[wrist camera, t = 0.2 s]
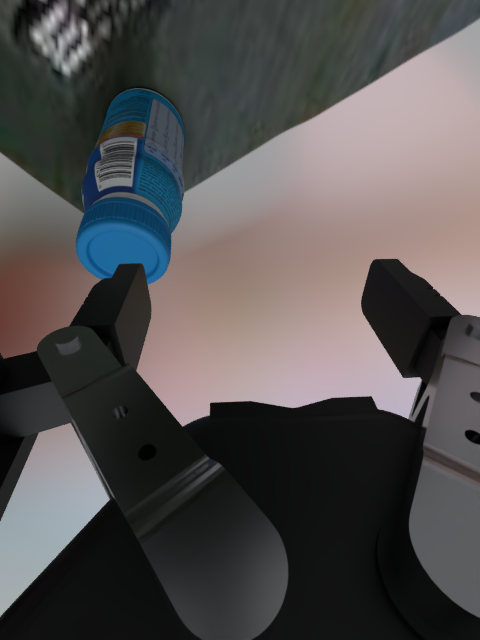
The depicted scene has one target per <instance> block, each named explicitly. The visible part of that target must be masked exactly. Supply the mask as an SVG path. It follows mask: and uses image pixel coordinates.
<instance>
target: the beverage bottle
mask: <svg viewBox="0 0 480 640" xmlns="http://www.w3.org/2000/svg"><path fill="white" fill-rule="evenodd" d="M184 143H185V130H184V125H183V122H182V119H181V117H180V115H179V113H178V111H177V110H176V108H175V107H174V106H173V105H172V104H171V103H170V102H169V101H168V100H167V99H166V98H165V97H163V96H162V95H160V94H159V93H157V92H154V91H152V90H148V89H143V88H134V89H129V90H126V91H124V92H122V93H120V94H119V95H118V96H116V97H115V98H114V100H113V101H112V102H111V104H110V106H109V108H108V111H107V115H106V119H105V122H104V124H103V127H102V130H101V133H100V135H99V138H98V141H97V144H96V146H95V148H94V150H93V151H92V153H91V155H90V157H89V160H88V164H87V169H86V175H85V177H84V180H83V184H82V200H83V205H84V208H85V211H86V212H85V214H84V216H83V219H82V221H81V224H80V227H79V230H78V234H77V238H76V252H77V256H78V258H79V260H80V262H81V263H82V265H83V266H84V267H85V268H86V269H87V270H88V271H89V272H90V273H91V274H93V275H94V276H96V277H97V278H99V279H101V280H103V279H104V278H112V276H113V274H114V272H115V270H116V268H117V267H118V265H119V264H129V263H142V264H143V266H144V269H145V274H146V279H147V285H148V284H150V283H153V282H155V281H156V280H158V279H159V278H161V277H162V276H163V275H164V273H165V272H166V270H167V267H168V264H169V261H170V254H171V233H172V232H173V231H174V229H175V227H176V226H177V224H178V222H179V220H180V217H181V213H182V200H183V196H184V179H183V175H182V163H183V149H184Z"/></svg>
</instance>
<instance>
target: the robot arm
mask: <svg viewBox="0 0 480 640" xmlns="http://www.w3.org/2000/svg"><path fill="white" fill-rule="evenodd" d="M361 307H362V312H363V314H364V316H365V317H366V319H367V321H368V322H369V324H370V325H371V327H372V329H373V330H374V331H375V333H376V335H377V337H378V338H379V340H380V341H381V343H382V345H383V346H384V348H385V349H386V351H387V353H388V354H389V356H390V357H391V359H392V361H393V362H394V364H395V365H396V367H397V369H398V370H399V372H400V373H401V375H402V377H403V378H412V377H420V378H421V379H422V381H421V383H420V385H419V387H418V390H417V393H416V396H415V399H414V403H413V406H412V409H411V412H410V415H409V419H407V418H405V417H402V416H400V415H397V414H394V413H391V412H388V411H384V410H379V409H377V407H376V405H375V402H374V401H373V398H372V397H371V396H370V397H346V398H345V397H344V398H331V399H327V400H323V401H320V402H316V403H313V404H309V405H305V406H302V407H298V408H288V407H282V406H276V405H270V404H264V403H258V402H252V401H244V402H221V403H220V402H219V403H210V416H206V417H203V418H200V419H197V420H195V421H193V422H191V423H189V424H187V425H185V426H183V427H182V426H181V424H180V423H179V422H178V421H177V420H176V418H175V417H174V416H173V415H172V414H171V412H170V411H169V410H168V409H167V408H166V406H165V405H164V404H163V403H162V402H161V401H160V399H159V398H158V397H157V396H156V394H155V393H154V392H153V391H152V390H151V389H150V387H149V386H148V385H147V384H146V382H145V381H144V380H143V379H142V378H141V376H140V375H139V374H138V373H137V372H136V369H137V366H138V362H139V359H140V355H141V352H142V348H143V345H144V341H145V337H146V334H147V330H148V326H149V323H150V319H151V301H150V297H149V290H148V285H147V279H146V274H145V269H144V266H143V264H142V263H129V264H119V265H118V267H117V268H116V270H115V272H114V274H113V276H112V278H104V279H103V280H101V281H100V282H99V283H97V284H96V285H94V286H93V288H92V290H91V291H90V293H89V294H88V297H87V298H86V299H85V301H84V304H83V305H82V306H81V308H80V309H79V311H78V313H77V314H76V316H75V317H74V319H73V321H72V322H71V324H70V326H69V327H65V328H61V329H59V330H56V331H54V332H52V333H50V334H49V335H47V336H46V337H45V338H43V339H42V340H41V341H40V343H39V344H38V347H37V351H35V352H31V353H27V354H23V355H18V356H14V357H10V358H6V359H3V357H2V355H1V353H0V521H1V518H2V516H3V513H4V511H5V509H6V507H7V504H8V502H9V500H10V497H11V495H12V493H13V491H14V488H15V486H16V484H17V482H18V479H19V477H20V475H21V472H22V470H23V468H24V465H25V463H26V461H27V459H28V456H29V454H30V451H31V449H32V447H33V445H34V442H35V440H36V438H37V435H38V433H39V432H41V431H45V430H48V429H51V428H54V427H58V426H61V425H65V424H68V423H71V424H72V426H73V428H74V430H75V432H76V434H77V436H78V438H79V440H80V442H81V444H82V446H83V448H84V450H85V451H86V453H87V455H88V457H89V459H90V461H91V463H92V465H93V467H94V469H95V471H96V473H97V475H98V477H99V479H100V481H101V483H102V485H103V487H104V489H105V491H106V493H107V495H108V497H109V499H110V500H109V501H108V502H107V503H106V505H105V506H104V507H103V508H102V509H101V510H100V511H99V512H98V513H97V514H96V515H95V516H94V517H93V518H92V519H91V521H90V522H89V523H88V524H87V525H86V526H85V527H84V528H83V529H82V530H81V531H80V532H79V533H78V534H77V535H76V536H75V537H74V539H73V540H72V541H71V542H70V543H69V544H68V545H67V546H66V547H65V548H64V549H63V550H62V551H61V553H59V555H58V556H57V557H56V558H55V559H54V560H53V561H52V562H51V563H50V564H49V565H48V566H47V567H46V569H44V571H43V572H42V573H41V574H40V575H39V576H38V577H37V578H36V579H35V580H34V581H33V582H32V583H31V585H29V587H28V588H27V589H26V590H25V591H24V592H23V593H22V594H21V595H20V596H19V597H18V598H17V599H16V601H14V603H13V604H12V605H11V606H10V607H9V608H8V609H7V610H6V611H5V612H4V613H3V615H2V616H1V617H0V640H480V317H477V316H471V315H461V314H460V313H459V312H458V311H457V310H456V309H455V308H454V307H453V306H452V305H451V304H450V303H449V302H447V300H446V299H445V298H444V297H442V296H440V294H439V293H438V292H437V291H436V290H435V289H433V287H432V286H431V285H430V284H429V283H428V282H427V281H426V280H425V279H423V278H421V277H419V276H417V275H416V274H414V273H412V272H410V271H409V270H408V269H407V268H406V267H405V266H404V265H403V264H402V263H401V262H400V261H399V260H398V259H376V260H373V262H372V263H371V265H370V269H369V272H368V276H367V280H366V284H365V287H364V291H363V296H362V300H361Z"/></svg>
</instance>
